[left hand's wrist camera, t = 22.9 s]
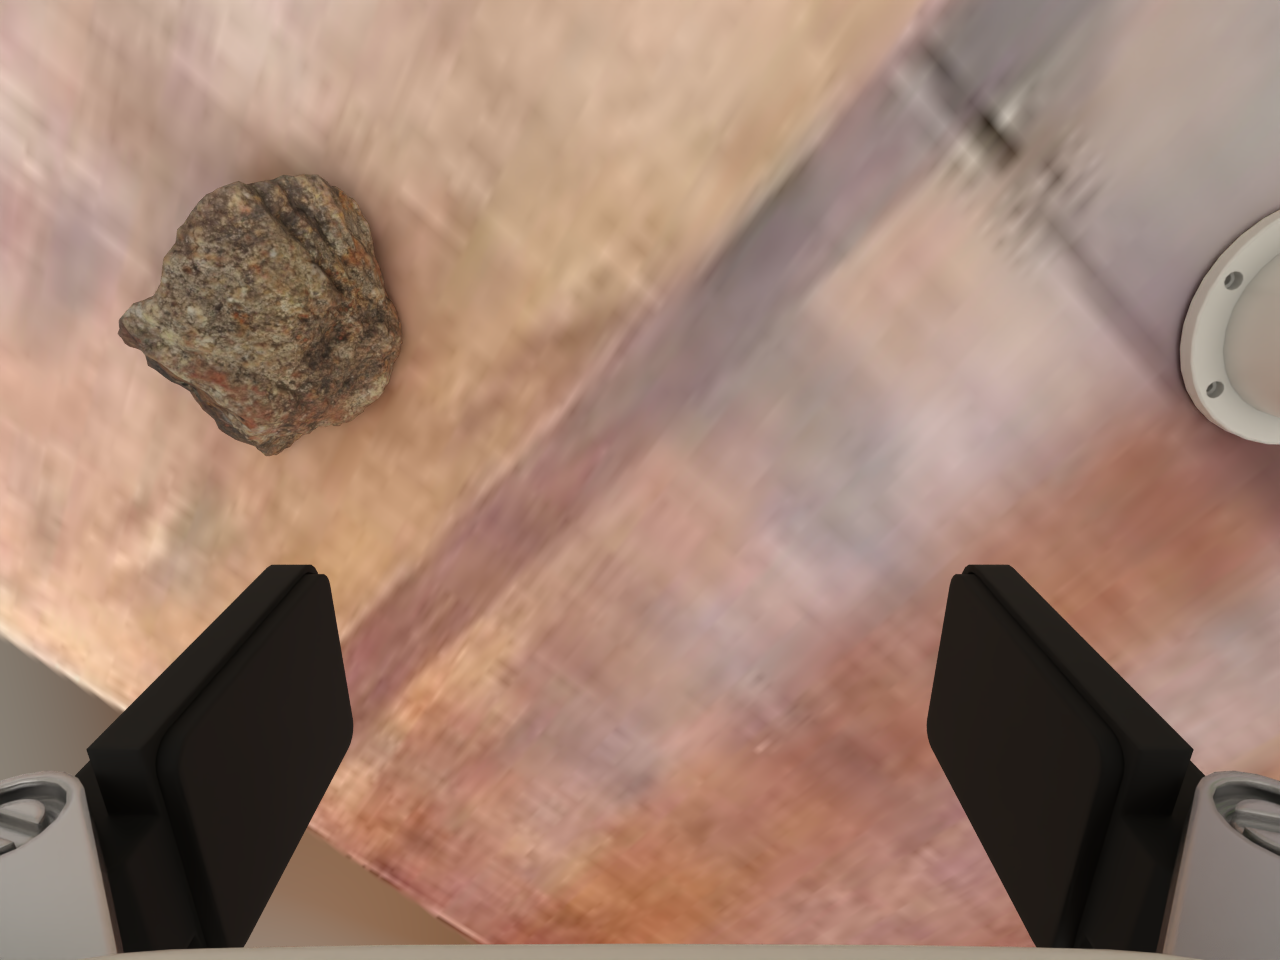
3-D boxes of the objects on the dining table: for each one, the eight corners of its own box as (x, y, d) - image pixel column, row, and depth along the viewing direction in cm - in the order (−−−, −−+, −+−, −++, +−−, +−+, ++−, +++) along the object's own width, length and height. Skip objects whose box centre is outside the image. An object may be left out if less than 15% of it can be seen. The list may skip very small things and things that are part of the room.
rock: (149, 331, 39) (288, 472, 42) (14, 375, 32) (195, 545, 34) (335, 150, 35) (475, 320, 38) (232, 149, 27) (419, 364, 30)
